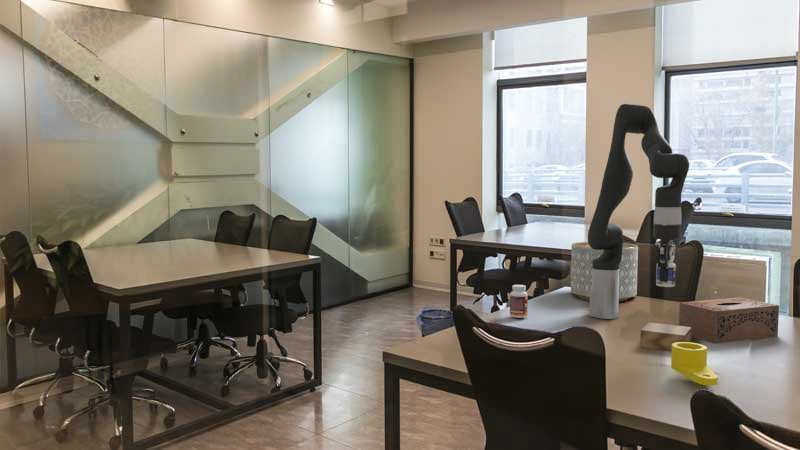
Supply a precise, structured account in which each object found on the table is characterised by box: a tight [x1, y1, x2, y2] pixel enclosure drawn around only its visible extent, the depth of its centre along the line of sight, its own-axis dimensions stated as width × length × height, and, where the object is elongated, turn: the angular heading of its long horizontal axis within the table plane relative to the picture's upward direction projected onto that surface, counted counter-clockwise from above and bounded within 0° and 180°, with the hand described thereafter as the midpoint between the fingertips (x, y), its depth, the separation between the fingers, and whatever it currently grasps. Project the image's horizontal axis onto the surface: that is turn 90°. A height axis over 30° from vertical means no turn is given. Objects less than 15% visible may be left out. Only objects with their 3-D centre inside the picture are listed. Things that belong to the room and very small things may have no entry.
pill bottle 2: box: [655, 256, 677, 288], centre depth 192 cm, size 5×5×9 cm
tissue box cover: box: [678, 296, 780, 344], centre depth 207 cm, size 26×14×10 cm, turn 111°
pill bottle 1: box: [509, 284, 529, 319], centre depth 234 cm, size 6×6×11 cm
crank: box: [670, 341, 719, 386], centre depth 166 cm, size 18×8×6 cm, turn 177°
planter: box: [570, 241, 639, 302], centre depth 265 cm, size 26×26×22 cm
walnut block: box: [639, 322, 692, 352], centre depth 194 cm, size 12×12×5 cm
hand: (665, 280), depth 192 cm, fingers closed on pill bottle 2, 5 cm apart
